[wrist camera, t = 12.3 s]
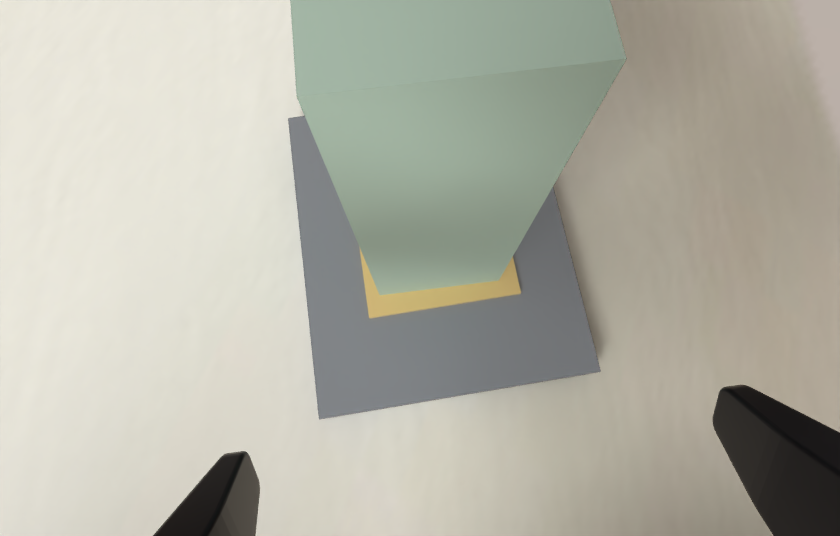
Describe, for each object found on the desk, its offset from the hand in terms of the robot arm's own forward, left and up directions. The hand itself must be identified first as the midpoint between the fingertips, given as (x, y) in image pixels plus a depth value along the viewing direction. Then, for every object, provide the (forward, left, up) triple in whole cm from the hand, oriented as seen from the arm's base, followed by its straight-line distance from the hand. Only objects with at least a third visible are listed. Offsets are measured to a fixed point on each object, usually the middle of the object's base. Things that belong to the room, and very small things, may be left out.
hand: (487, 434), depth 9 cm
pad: (+7, 0, -9) cm, 11 cm away
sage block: (+7, 0, -8) cm, 10 cm away
